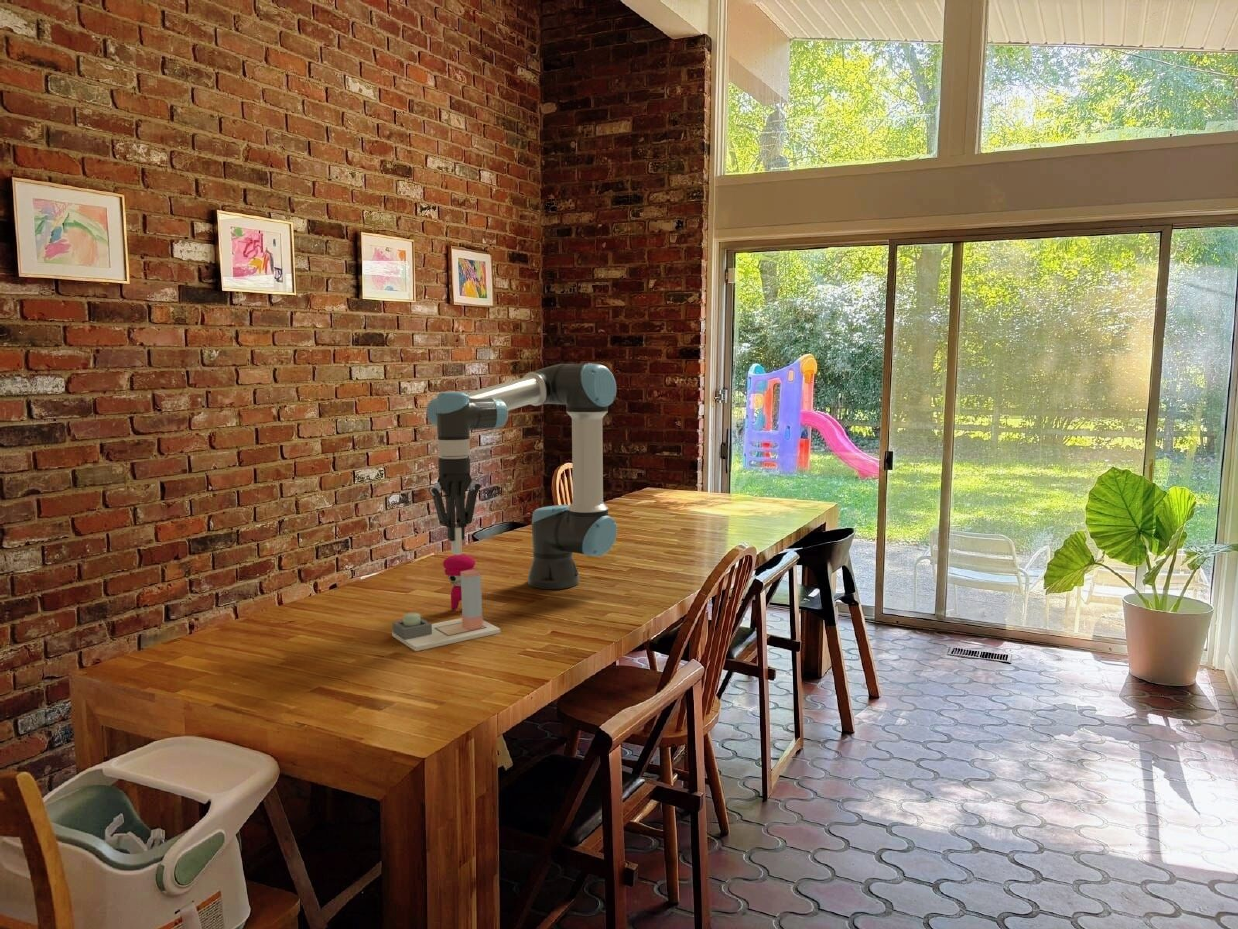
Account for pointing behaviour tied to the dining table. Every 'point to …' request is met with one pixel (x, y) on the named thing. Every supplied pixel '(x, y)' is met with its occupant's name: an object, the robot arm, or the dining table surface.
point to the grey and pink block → (471, 599)
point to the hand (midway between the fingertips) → (456, 553)
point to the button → (411, 620)
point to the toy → (457, 574)
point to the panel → (438, 633)
